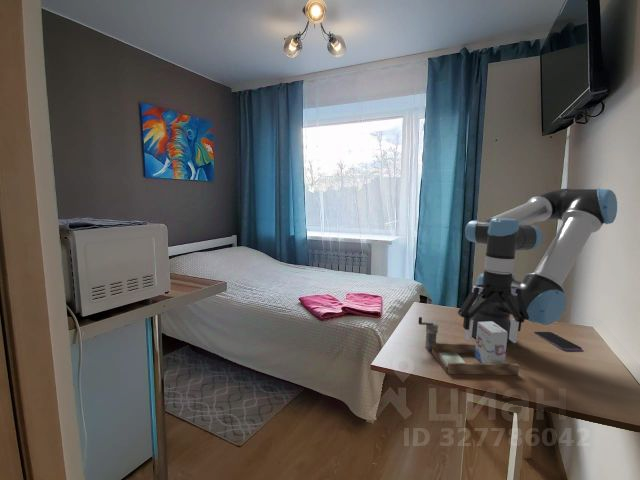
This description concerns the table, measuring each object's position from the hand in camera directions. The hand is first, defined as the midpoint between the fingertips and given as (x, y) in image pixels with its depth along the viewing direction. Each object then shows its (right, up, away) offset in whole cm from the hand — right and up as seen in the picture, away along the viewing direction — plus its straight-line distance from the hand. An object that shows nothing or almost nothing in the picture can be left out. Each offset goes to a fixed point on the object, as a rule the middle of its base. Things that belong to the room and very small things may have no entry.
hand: (490, 340), depth 102 cm
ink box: (0, -7, +1) cm, 8 cm away
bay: (-7, -7, +3) cm, 10 cm away
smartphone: (+33, -6, +19) cm, 38 cm away
